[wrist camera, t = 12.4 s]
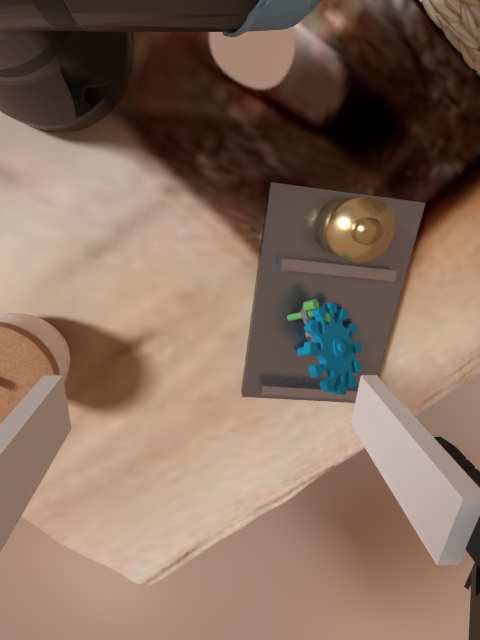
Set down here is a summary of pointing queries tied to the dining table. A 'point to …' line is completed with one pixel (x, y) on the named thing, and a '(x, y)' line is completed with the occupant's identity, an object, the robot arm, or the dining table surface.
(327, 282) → the board
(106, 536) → the dining table surface
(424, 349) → the dining table surface
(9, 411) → the lidded jar
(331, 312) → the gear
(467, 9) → the storage basket
